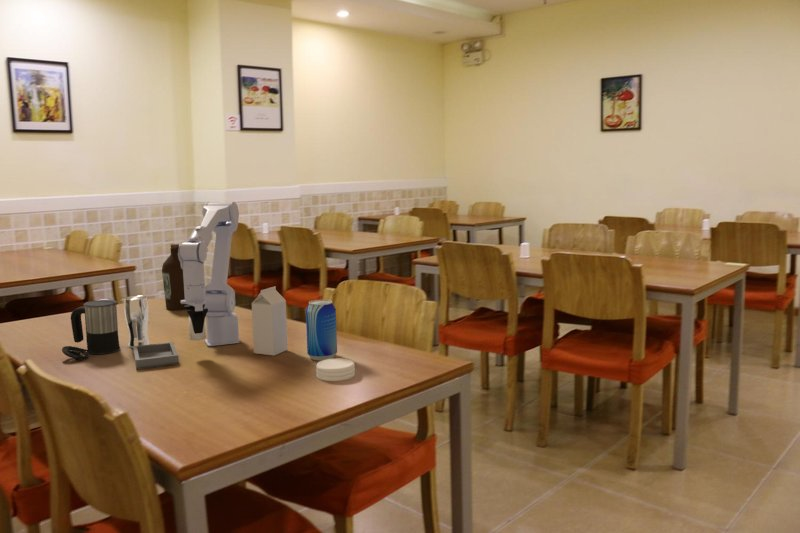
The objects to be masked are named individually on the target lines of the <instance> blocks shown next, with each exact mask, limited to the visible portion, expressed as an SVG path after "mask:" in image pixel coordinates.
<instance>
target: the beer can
mask: <svg viewBox="0 0 800 533" xmlns="http://www.w3.org/2000/svg"><path fill="white" fill-rule="evenodd" d="M305 320H306V321H305V325H306V349H307V356H309V358H310V359H311V360H312V361H313V360H314V361H323V360H326V359H334V358H335V356H336V354H337V353H338V338H337V337H338V336H337V333H338V332H337V309H336V307H335V305H334V303H333V301H332V300H331V299H315V300H309V301H308V305H307V308H306V309H305Z"/></svg>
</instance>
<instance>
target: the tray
mask: <svg viewBox="0 0 800 533" xmlns="http://www.w3.org/2000/svg"><path fill="white" fill-rule="evenodd" d="M132 349H133V351H132V352H133V358H134V364H135V369H136V370H143V369H144V370H146V369H152V368H161V367H168V366H177V365H179V364H180V363H179V360H180V359H179V353H178V351H177V349H176V346H175V344H174V341H171V342H170V341H169V342H160V343H152V344H149V345H141V346H133V348H132Z"/></svg>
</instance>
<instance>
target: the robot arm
mask: <svg viewBox="0 0 800 533" xmlns="http://www.w3.org/2000/svg"><path fill="white" fill-rule="evenodd" d="M202 217H203V219H202V220H201V223H200V225H198V226H196V227H194V229H193V230H192V231H191V234H190V235H189V237H188V238H187V240H186V242H182V243H181V244H179V249H178V258H179V261H180V264H181V269H183V279H184V294H185V300H181V304H188V305H185V306H184V307H185V309H184V310H186V312H187V315H188V316H190V318H191V321H192V325H193V330H194V333H195V334H197V333H202V332H203V327H204V320H205V327H206V338H205V339H204V342H205V344H206V345H207V347H215V346H222V345H223V346H224V345H232V344H240V338H239V337H240V336H239V335H240V333H239V317H238V314H237V313H236V312H234V311H235V310H236V308H235V307H236V291H235V289H233V287H231V286H230V284H228V277H229V268H230V267H229V266H230V258H231V250H232V248H231V247H232V240H233V233H234V232H236V231H237V230H238V226H239V220H240V219H239V218H240V210H239V206H238V204H237V202H235V201H231V202H228V201H227V202H226V201H225V202H222V201H221V202H220V201H219V202H217V201H216V202H215V201H214V202H209V201H206V202H204V205H203V207H202ZM213 233H215V240H214V241H215V242H214V248H213V250H214V251H213V259H212V267H211V276H210V277H211V279H210V282H209V283H207V284H206V281H205V279H206V277H205V261H206V260H207V255H208V251H209V248H208V246H209V245H210V243H211V242H212V240H213Z"/></svg>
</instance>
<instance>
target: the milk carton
mask: <svg viewBox="0 0 800 533" xmlns="http://www.w3.org/2000/svg"><path fill="white" fill-rule="evenodd" d="M276 288H277V287H276V285H275V286H272V287H267V288H265V289H261V290H260V293H259V294H258V295H257V297H256V298H255V299H254V300H253V301H252V302H251V321H252V338H253V340H252V341H253V343H252V344H253V354H256V355H266V356H273V357H274V356H277V355H279V354H281V353H283V352H285V351H288V348H289V346H288V344H289V343H288V324H287V323H288V321H287V300H286V299H285V298H284V297H283V296H282V295H281V294H280V293H279V292H278V291H277V289H276Z"/></svg>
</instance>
